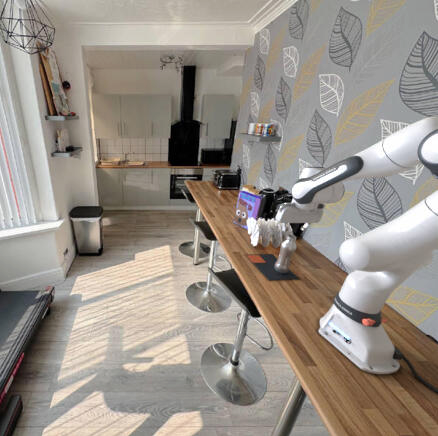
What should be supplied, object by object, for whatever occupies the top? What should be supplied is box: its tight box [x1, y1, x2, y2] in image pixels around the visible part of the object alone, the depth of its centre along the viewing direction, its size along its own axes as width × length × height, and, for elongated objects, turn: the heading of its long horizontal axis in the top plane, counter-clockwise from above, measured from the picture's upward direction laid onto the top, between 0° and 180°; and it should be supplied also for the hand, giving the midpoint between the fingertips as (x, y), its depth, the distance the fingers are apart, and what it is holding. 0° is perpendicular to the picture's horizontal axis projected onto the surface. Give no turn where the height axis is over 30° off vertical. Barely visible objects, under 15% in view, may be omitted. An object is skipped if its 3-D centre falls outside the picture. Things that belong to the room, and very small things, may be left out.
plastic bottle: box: [274, 234, 297, 274], centre depth 114 cm, size 6×7×20 cm
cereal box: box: [232, 190, 266, 231], centre depth 163 cm, size 17×5×24 cm, turn 27°
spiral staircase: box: [246, 217, 294, 249], centre depth 140 cm, size 18×18×25 cm
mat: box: [245, 253, 300, 281], centre depth 123 cm, size 22×16×1 cm
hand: (293, 230), depth 109 cm, fingers open, 8 cm apart
